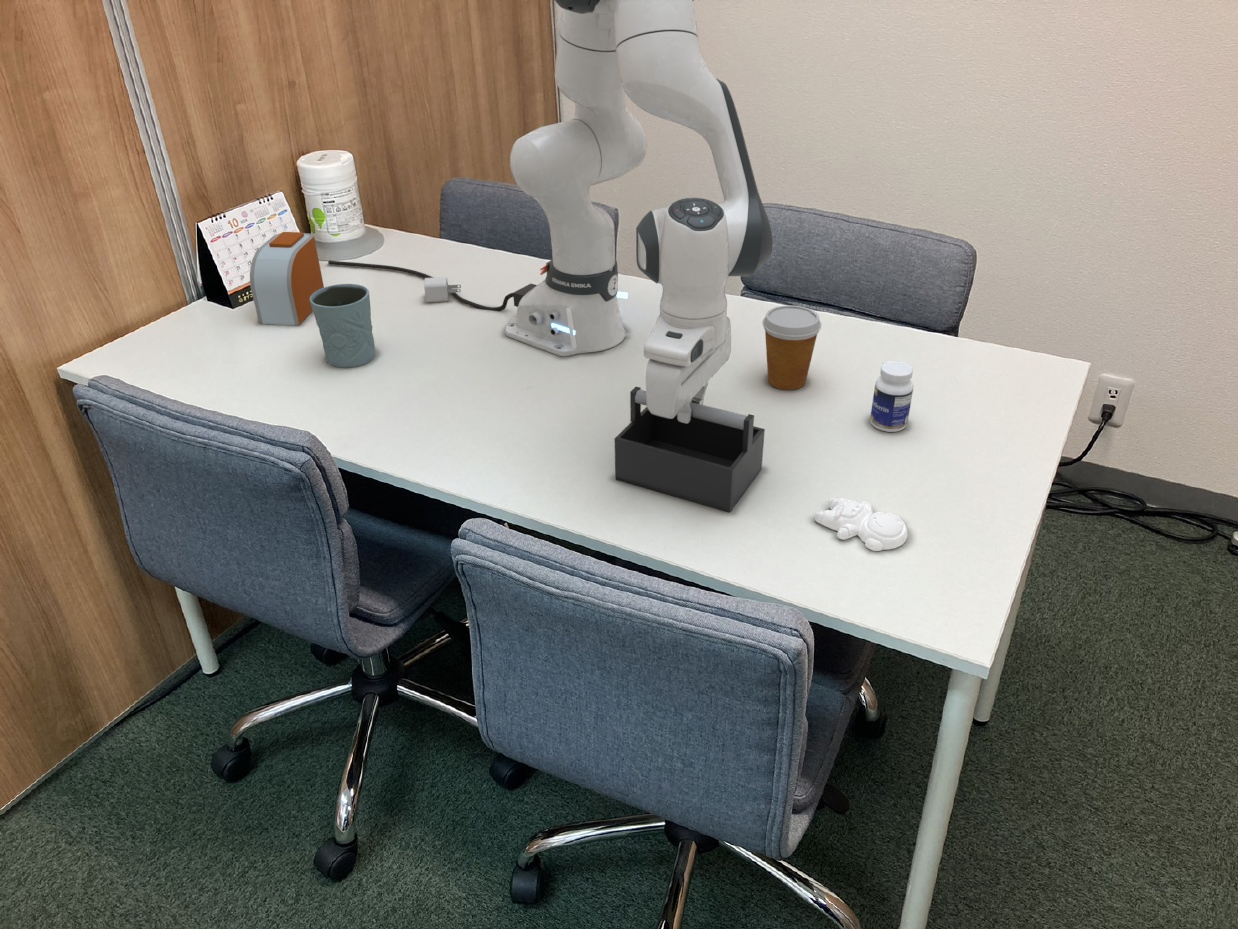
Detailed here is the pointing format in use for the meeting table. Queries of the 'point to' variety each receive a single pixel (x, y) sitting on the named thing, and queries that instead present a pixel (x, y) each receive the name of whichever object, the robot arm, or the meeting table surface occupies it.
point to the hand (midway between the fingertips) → (690, 414)
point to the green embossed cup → (344, 324)
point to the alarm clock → (285, 278)
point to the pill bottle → (892, 397)
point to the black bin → (690, 453)
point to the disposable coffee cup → (790, 344)
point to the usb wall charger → (438, 289)
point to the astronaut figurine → (863, 524)
